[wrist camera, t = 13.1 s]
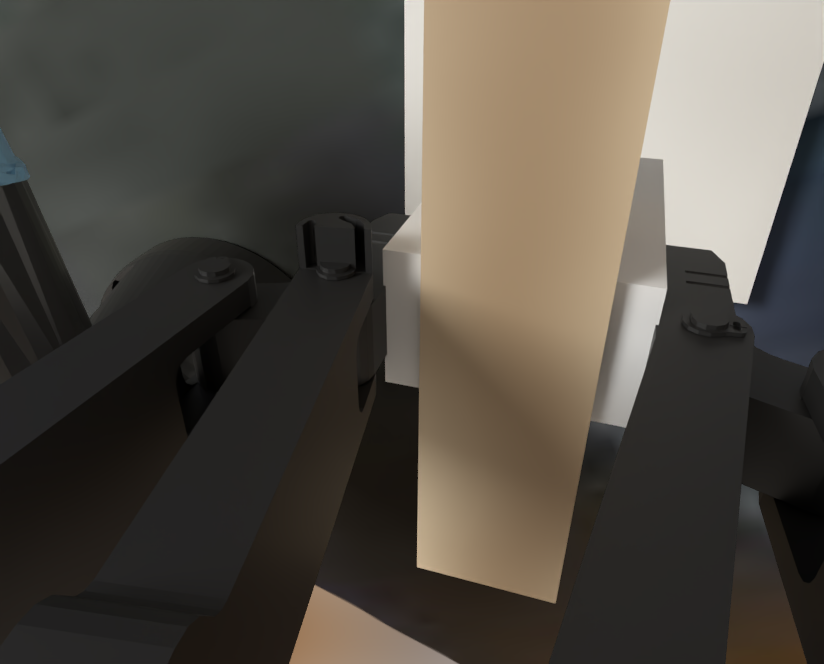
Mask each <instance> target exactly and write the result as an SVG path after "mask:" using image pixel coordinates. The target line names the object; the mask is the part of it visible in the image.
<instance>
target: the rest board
mask: <svg viewBox="0 0 824 664" xmlns="http://www.w3.org/2000/svg"><path fill="white" fill-rule="evenodd" d="M423 45H424V0H405V215H411V214H412V213H413V212H414V211H415V210H416V208H417V207H418V206H419V205H420V204H421V202H422V125H423ZM823 62H824V0H670V5H669V10H668V16H667V21H666V26H665V31H664V37H663V42H662V47H661V52H660V58H659V63H658V68H657V73H656V79H655V84H654V89H653V94H652V100H651V105H650V110H649V115H648V121H647V126H646V131H645V136H644V142H643V147H642V152H641V158H652V159H663V172H664V203H665V235H666V245H672V246H680V247H688V248H696V249H704V250H712V251H713V252H714V253H715V254H716V255H717V256H718V257H719V258H720V259H721V260H722V261H723V262H724V263H725V265H726V270H727V275H728V277H727V278H728V280H729V285H730V288H729V289H730V290H731V295H732V300H733V302H735V303H742V304H747V303H748V300H749V297H750V293H751V290H752V287H753V284H754V281H755V278H756V274H757V271H758V268H759V265H760V262H761V259H762V255H763V252H764V249H765V246H766V243H767V240H768V236H769V233H770V230H771V227H772V224H773V221H774V217H775V214H776V211H777V208H778V205H779V202H780V198H781V195H782V192H783V189H784V186H785V183H786V179H787V176H788V173H789V170H790V167H791V164H792V160H793V157H794V154H795V151H796V148H797V145H798V141H799V138H800V135H801V132H802V129H803V126H804V122H805V119H806V116H807V113H808V110H809V107H810V103H811V100H812V97H813V94H814V91H815V88H816V84H817V81H818V78H819V75H820V72H821V69H822V65H823Z"/></svg>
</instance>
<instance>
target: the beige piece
mask: <svg viewBox="0 0 824 664" xmlns="http://www.w3.org/2000/svg"><path fill="white" fill-rule="evenodd" d="M669 5H670V0H424V45H423V125H422V204H421V283H420V363H419V442H418V522H417V567H418V568H422V569H426V570H430V571H434V572H437V573H441V574H445V575H449V576H453V577H456V578H460V579H464V580H468V581H472V582H475V583H479V584H483V585H487V586H491V587H495V588H498V589H502V590H506V591H510V592H514V593H517V594H521V595H525V596H529V597H533V598H536V599H540V600H544V601H548V602H552V603H556V598H557V593H558V588H559V582H560V577H561V572H562V567H563V561H564V556H565V551H566V546H567V540H568V535H569V530H570V525H571V519H572V514H573V509H574V504H575V498H576V493H577V488H578V483H579V477H580V472H581V467H582V462H583V456H584V451H585V446H586V441H587V435H588V430H589V425H590V420H591V414H592V409H593V404H594V399H595V393H596V388H597V383H598V378H599V372H600V367H601V362H602V357H603V351H604V346H605V341H606V336H607V330H608V325H609V320H610V315H611V309H612V304H613V299H614V294H615V288H616V283H617V278H618V273H619V267H620V262H621V257H622V252H623V247H624V241H625V236H626V231H627V226H628V220H629V215H630V210H631V205H632V199H633V194H634V189H635V184H636V178H637V173H638V168H639V163H640V157H641V152H642V147H643V142H644V136H645V131H646V126H647V121H648V115H649V110H650V105H651V100H652V94H653V89H654V84H655V79H656V73H657V68H658V63H659V58H660V52H661V47H662V42H663V37H664V31H665V26H666V21H667V16H668V10H669Z"/></svg>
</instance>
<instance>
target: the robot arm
mask: <svg viewBox="0 0 824 664" xmlns="http://www.w3.org/2000/svg"><path fill="white" fill-rule="evenodd" d="M29 178H30V175H29V173H28V171H27V169H26V165H25V164H24V163H23V162H22V161H21V160H20V159H19V158H18V157H16V156H15V155H14V154H13V152H12V150H11V148H10V146H9V144H8V142H7V140H6V138H5V136H4V134H3V132H2V130H1V128H0V664H289V662H290V659H291V655H292V653H293V649H294V646H295V643H296V640H297V637H298V634H299V631H300V628H301V625H302V622H303V619H304V615H305V612H306V610H307V606H308V603H309V600H310V597H311V594H312V591H313V588H314V585H315V582H316V579H317V576H318V573H319V569H320V566H321V563H322V560H323V557H324V554H325V551H326V548H327V545H328V542H329V539H330V536H331V532H332V529H333V526H334V523H335V520H336V517H337V514H338V511H339V508H340V505H341V502H342V499H343V495H344V492H345V489H346V486H347V483H348V480H349V477H350V474H351V471H352V468H353V465H354V462H355V458H356V455H357V452H358V449H359V446H360V443H361V440H362V437H363V434H364V431H365V428H366V424H367V421H368V418H369V415H370V412H371V409H372V406H373V403H374V400H375V397H376V371H377V370H378V368H379V366H380V365H381V363H382V361H383V360H384V358H385V382H390V383H396V384H401V385H406V386H411V387H417V388H419V363H420V283H421V204H422V202H421V204H420V205H419V206H418V207H417V208H416V210H415V211H414V212H413V213H412V214H411V215H403V214H395V213H389V214H386V215H384V216H382V217H380V218H377V219H375V220H373V221H372V222H371V223H370V222H369V221H368V220H367V219H366V218H363V217H360V216H358V215H354V214H348V213H324V214H318V215H313V216H310V217H308V218H305V219H302V220H301V221H300V222H298V223H297V224H296V225H295V226H296V237H297V247H298V257H299V267H300V268H299V270H298V271H297V273H296V274H295V276H294V277H293V279H292V280H291V279H290V278H288V277H287V276H286V275H285V274H284V273H283V272H281V271H280V270H279V269H278V268H276V267H275V266H273V265H272V264H271V263H269V262H267V261H266V260H264V259H263V258H261V257H259V256H258V255H256V254H254V253H252V252H250V251H248V250H246V249H243V248H241V247H239V246H236V245H233V244H230V243H227V242H223V241H219V240H215V239H209V238H200V237H188V238H179V239H174V240H169V241H166V242H164V243H161V244H159V245H157V246H155V247H153V248H152V249H150V250H148V251H147V252H145V253H144V254H142V255H141V256H139V257H138V258H136V259H135V260H133V261H132V262H130V263H129V264H128V265H126V266H125V267H124V268H123V269H122V270H121V271H120V272H119V273H118V274H117V275H116V276H115V277H114V279H113V280H112V282H111V283H110V285H109V286H108V288H107V289H106V292H105V294H104V296H103V298H102V301H101V305H100V307H99V308H98V309H97V310H96V311H95V312H94V313H93V315H92V316H91V317H90V318H89V317H88V315H87V313H86V310H85V308H84V306H83V304H82V301H81V299H80V297H79V295H78V293H77V290H76V288H75V286H74V284H73V281H72V279H71V277H70V275H69V273H68V270H67V268H66V266H65V264H64V261H63V259H62V257H61V255H60V253H59V250H58V248H57V246H56V244H55V241H54V239H53V237H52V235H51V233H50V230H49V228H48V226H47V224H46V221H45V219H44V217H43V215H42V213H41V210H40V208H39V206H38V204H37V201H36V199H35V197H34V195H33V193H32V190H31V188H30V186H29V184H28V181H27V179H29ZM727 277H728V275H727V270H726V265H725V263H724V262H723V261H722V260H721V259H720V258H719V257H718V256H717V255H716V254H715V253H714V252H713V251H712V250H704V249H696V248H688V247H680V246H672V245H666V235H665V203H664V172H663V159H652V158H641V157H640V163H639V168H638V173H637V178H636V184H635V189H634V194H633V199H632V205H631V210H630V215H629V220H628V226H627V231H626V236H625V241H624V247H623V252H622V257H621V262H620V267H619V273H618V278H617V283H616V288H615V294H614V299H613V304H612V309H611V315H610V320H609V325H608V330H607V336H606V341H605V346H604V351H603V357H602V362H601V367H600V372H599V378H598V383H597V388H596V393H595V399H594V404H593V409H592V414H591V420H590V421H594V422H600V423H605V424H610V425H615V426H620V427H626V429H625V432H624V435H623V438H622V441H621V444H620V447H619V450H618V453H617V457H616V460H615V463H614V466H613V469H612V472H611V475H610V478H609V481H608V484H607V487H606V490H605V493H604V496H603V499H602V502H601V505H600V508H599V511H598V515H597V518H596V521H595V524H594V527H593V530H592V533H591V536H590V539H589V542H588V545H587V548H586V551H585V554H584V557H583V560H582V563H581V566H580V569H579V573H578V576H577V579H576V582H575V585H574V588H573V591H572V594H571V597H570V600H569V603H568V606H567V609H566V612H565V615H564V618H563V621H562V624H561V627H560V631H559V634H558V637H557V640H556V643H555V646H554V649H553V652H552V655H551V658H550V661H549V664H725V661H726V649H727V638H728V627H729V616H730V605H731V594H732V583H733V572H734V561H735V549H736V538H737V527H738V516H739V505H740V494H741V484H743V485H745V486H748V487H750V488H752V489H755V490H757V491H759V505H760V509H761V512H762V515H763V519H764V522H765V525H766V529H767V532H768V535H769V538H770V542H771V545H772V548H773V552H774V555H775V558H776V562H777V565H778V568H779V572H780V575H781V578H782V581H783V585H784V588H785V591H786V595H787V598H788V601H789V605H790V608H791V611H792V615H793V618H794V621H795V624H796V628H797V631H798V634H799V638H800V641H801V644H802V648H803V651H804V654H805V658H806V661H807V664H824V350H822V351H819V352H818V353H817V354H816V355H815V356H814V357H813V358H812V360H811V362H810V365H809V367H804V366H801V365H798V364H795V363H792V362H789V361H786V360H783V359H780V358H778V357H775V356H772V355H770V354H768V353H766V352H764V351H762V350H760V349H758V348H756V347H755V346H754V338H755V336H754V333H753V330H752V327H751V326H750V325H749V324H748V323H746V322H745V321H744V320H743V319H742V318H740V317H738V316H736V314H735V310H734V305H733V300H732V295H731V290H730V289H729V288H730V285H729V280H728V278H727Z"/></svg>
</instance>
